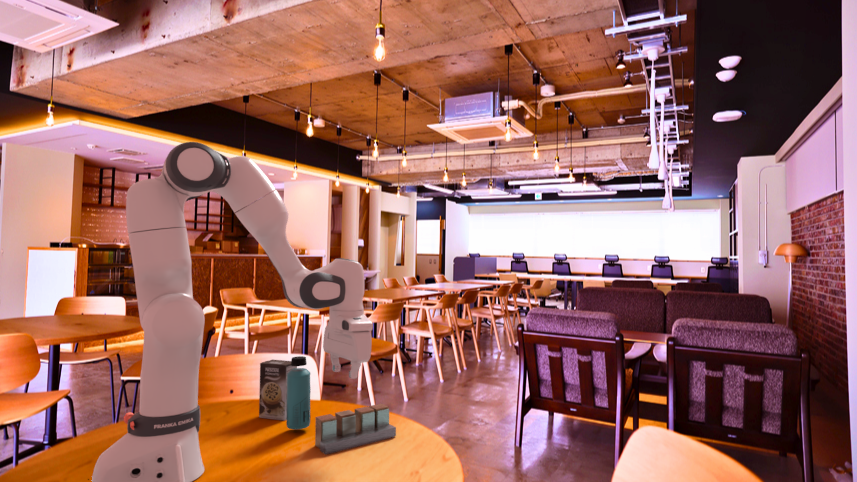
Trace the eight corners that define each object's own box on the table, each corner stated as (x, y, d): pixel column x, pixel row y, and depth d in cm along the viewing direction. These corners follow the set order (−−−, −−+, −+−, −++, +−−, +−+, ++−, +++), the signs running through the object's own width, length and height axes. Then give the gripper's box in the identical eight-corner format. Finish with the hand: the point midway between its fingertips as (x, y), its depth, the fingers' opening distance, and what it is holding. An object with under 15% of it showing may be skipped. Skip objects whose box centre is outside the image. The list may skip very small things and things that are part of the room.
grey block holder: (325, 454, 113) (325, 424, 114) (313, 445, 119) (313, 417, 119) (395, 436, 125) (395, 409, 126) (381, 429, 131) (382, 403, 131)
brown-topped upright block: (342, 445, 119) (342, 416, 120) (334, 440, 123) (335, 412, 123) (356, 441, 122) (356, 413, 122) (348, 437, 125) (349, 409, 125)
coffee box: (257, 418, 140) (258, 362, 141) (271, 411, 146) (271, 358, 147) (284, 421, 138) (285, 364, 139) (296, 414, 144) (297, 360, 145)
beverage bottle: (303, 436, 125) (304, 359, 126) (280, 434, 127) (282, 358, 128) (314, 427, 132) (315, 355, 133) (292, 426, 133) (293, 354, 134)
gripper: (318, 317, 130) (316, 368, 129) (353, 325, 114) (352, 384, 113) (339, 316, 134) (337, 366, 133) (376, 324, 118) (374, 381, 117)
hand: (344, 374), depth 123 cm, fingers open, 8 cm apart
